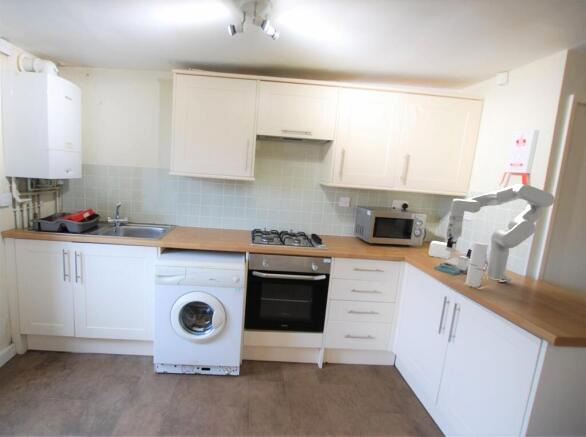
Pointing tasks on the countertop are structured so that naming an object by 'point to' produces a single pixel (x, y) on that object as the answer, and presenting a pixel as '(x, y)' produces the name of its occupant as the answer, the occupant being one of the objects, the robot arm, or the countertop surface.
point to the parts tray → (447, 269)
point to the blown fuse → (452, 245)
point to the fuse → (462, 262)
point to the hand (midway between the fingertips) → (451, 246)
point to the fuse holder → (455, 267)
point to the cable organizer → (439, 250)
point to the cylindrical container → (476, 263)
